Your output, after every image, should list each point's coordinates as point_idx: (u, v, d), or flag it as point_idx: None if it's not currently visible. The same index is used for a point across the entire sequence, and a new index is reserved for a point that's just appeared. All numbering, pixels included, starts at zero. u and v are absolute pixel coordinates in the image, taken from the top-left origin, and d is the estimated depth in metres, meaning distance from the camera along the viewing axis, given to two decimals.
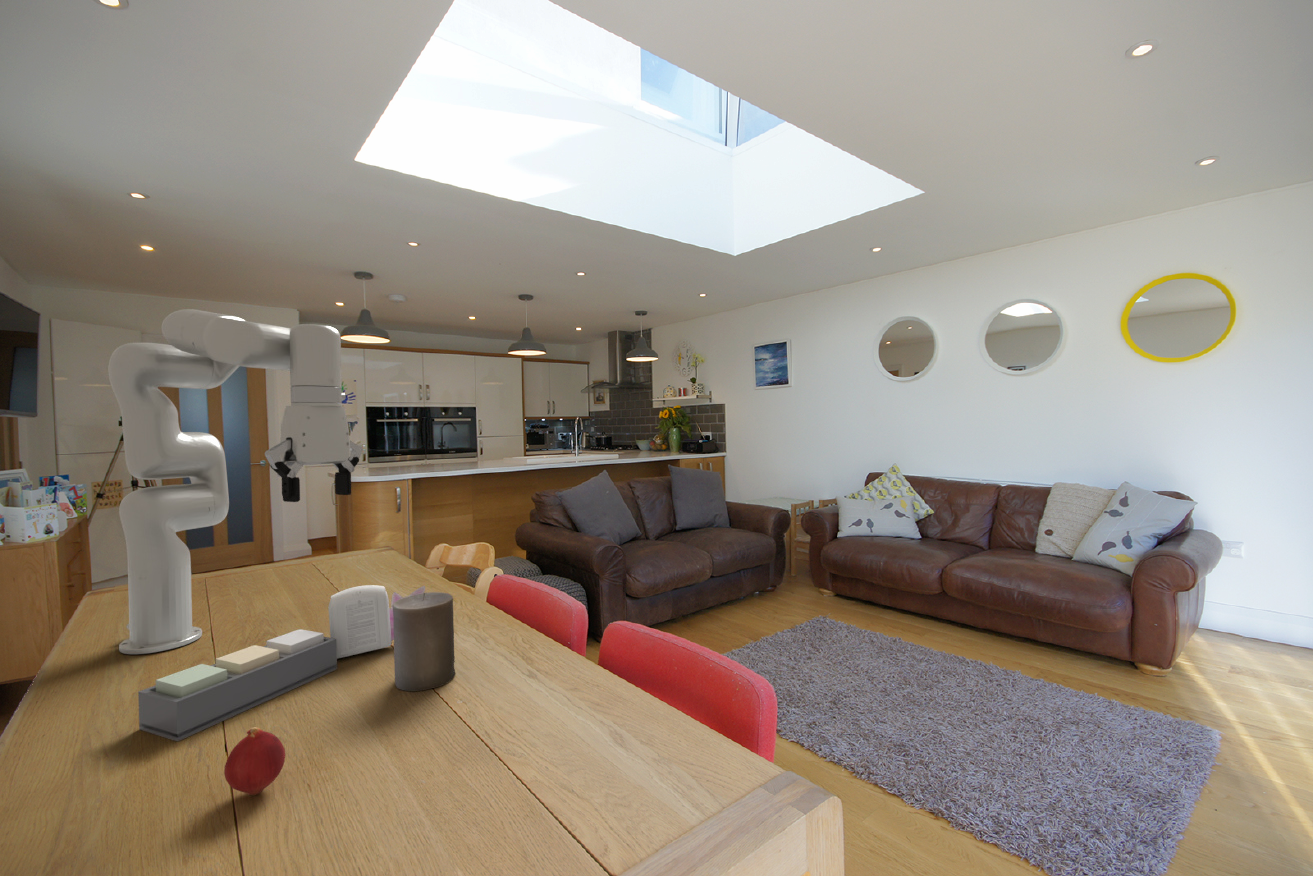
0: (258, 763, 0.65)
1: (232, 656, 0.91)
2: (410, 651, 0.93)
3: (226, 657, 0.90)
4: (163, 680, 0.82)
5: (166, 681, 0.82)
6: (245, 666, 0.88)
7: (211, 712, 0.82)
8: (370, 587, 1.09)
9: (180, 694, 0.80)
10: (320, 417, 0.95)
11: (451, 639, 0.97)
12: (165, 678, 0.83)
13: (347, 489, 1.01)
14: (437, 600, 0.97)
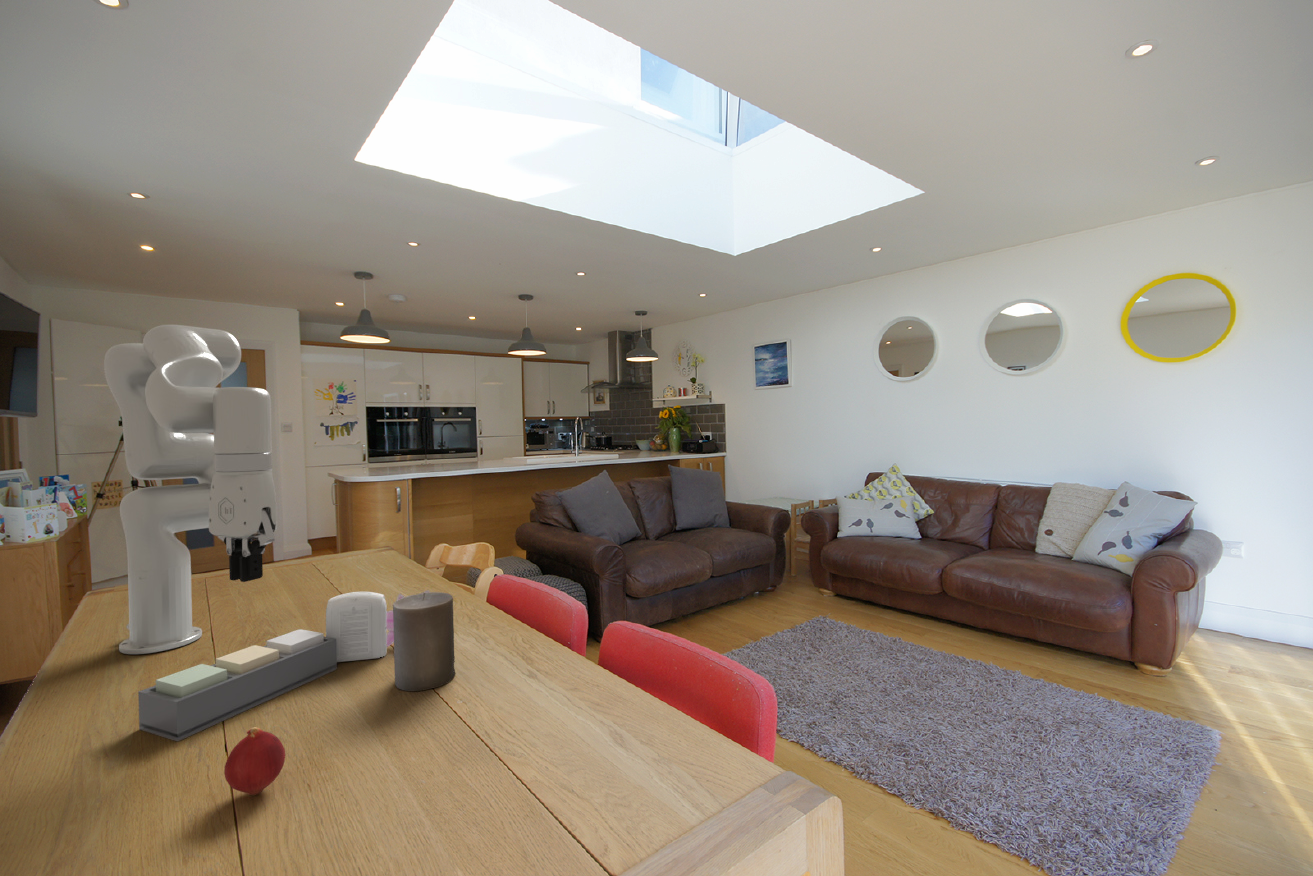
0: (258, 763, 0.65)
1: (232, 656, 0.91)
2: (410, 651, 0.93)
3: (226, 657, 0.90)
4: (163, 680, 0.82)
5: (166, 681, 0.82)
6: (245, 666, 0.88)
7: (211, 712, 0.82)
8: (367, 595, 1.06)
9: (180, 694, 0.80)
10: None
11: (451, 639, 0.97)
12: (165, 678, 0.83)
13: None
14: (437, 600, 0.97)
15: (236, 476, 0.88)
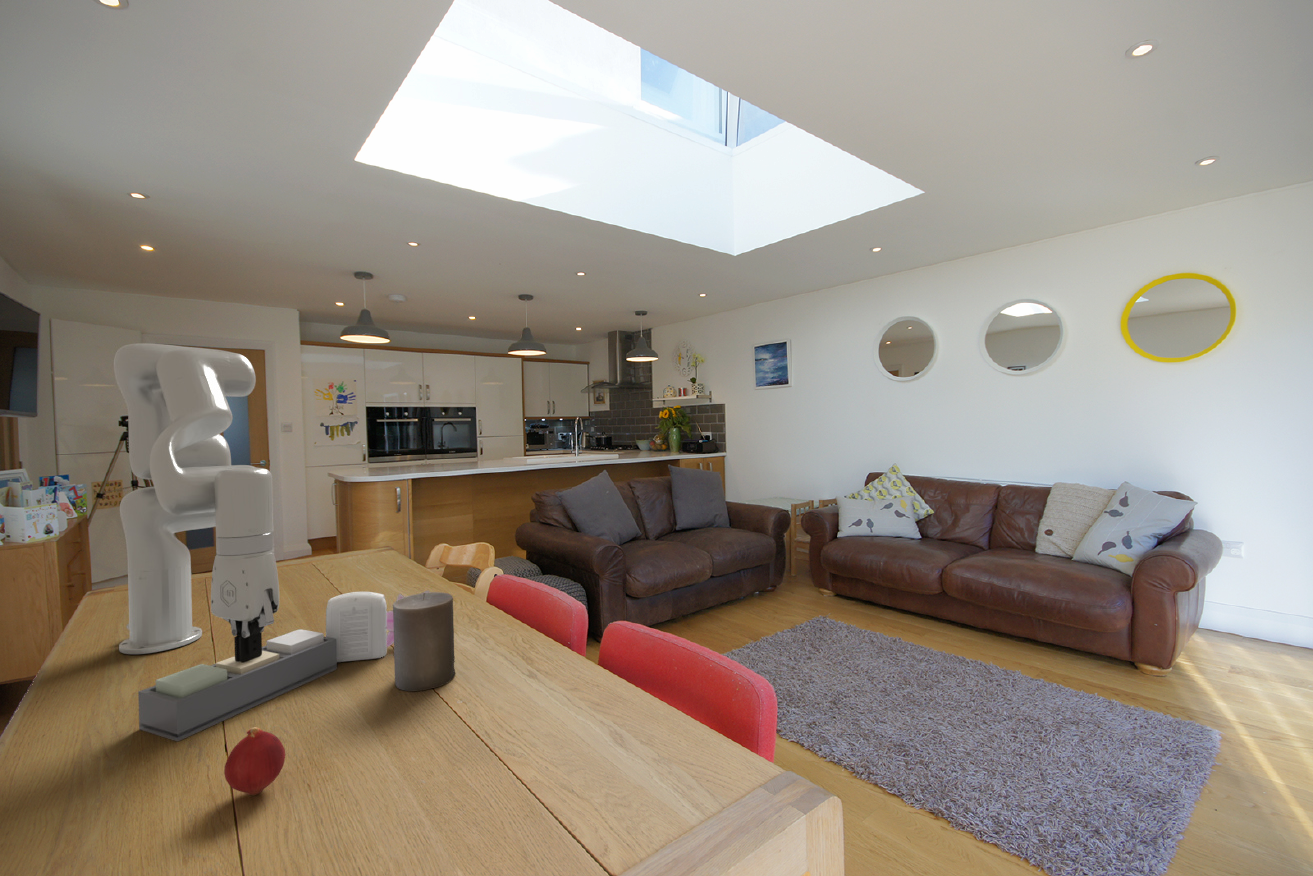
0: (258, 763, 0.65)
1: (232, 660, 0.91)
2: (410, 651, 0.93)
3: (226, 661, 0.90)
4: (163, 680, 0.82)
5: (166, 681, 0.82)
6: (245, 671, 0.88)
7: (211, 712, 0.82)
8: (367, 595, 1.06)
9: (180, 694, 0.80)
10: None
11: (451, 639, 0.97)
12: (165, 678, 0.83)
13: None
14: (437, 600, 0.97)
15: (238, 559, 0.88)
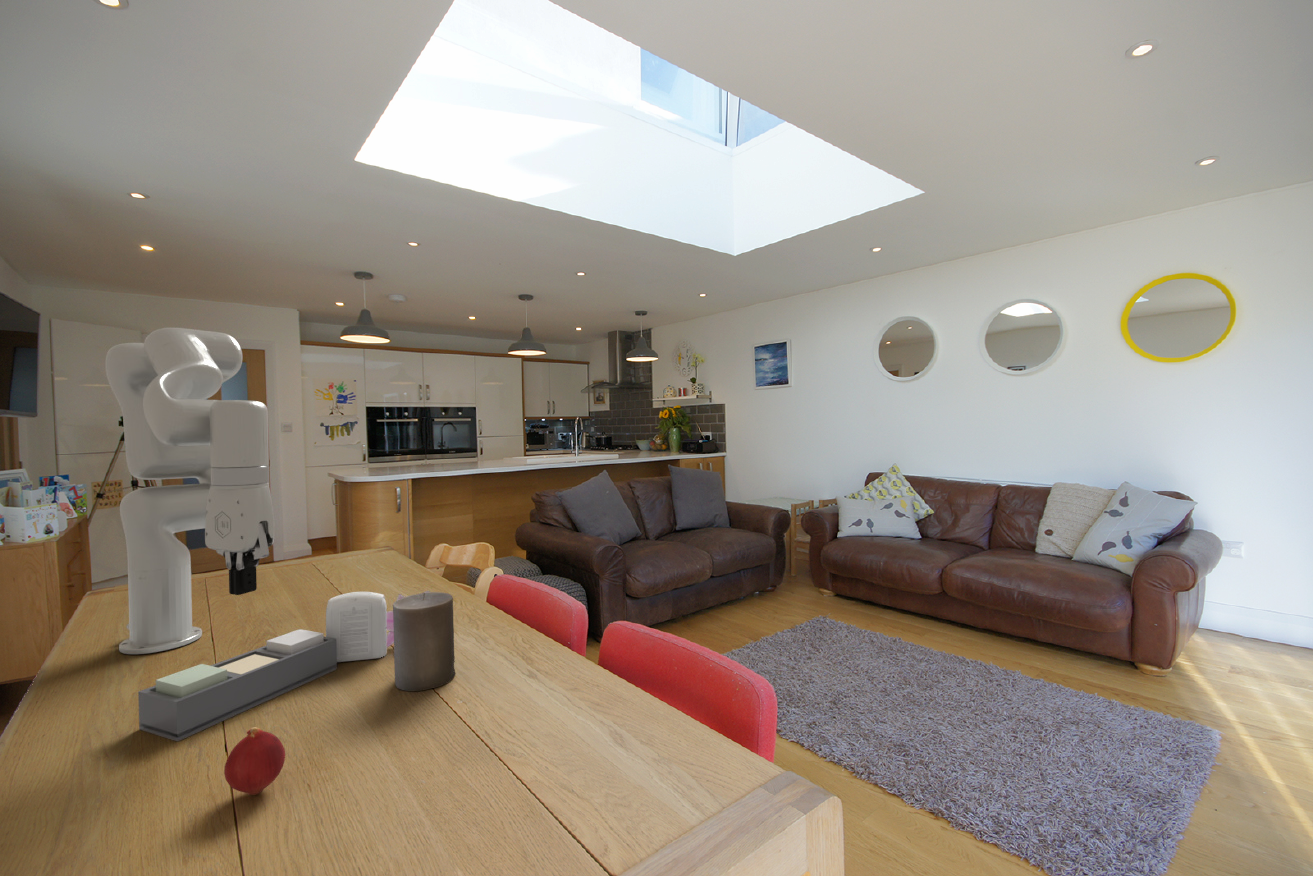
0: (258, 763, 0.65)
1: (232, 665, 0.91)
2: (410, 651, 0.93)
3: (226, 666, 0.90)
4: (163, 680, 0.82)
5: (166, 681, 0.82)
6: None
7: (211, 712, 0.82)
8: (367, 595, 1.06)
9: (180, 694, 0.80)
10: None
11: (451, 639, 0.97)
12: (165, 678, 0.83)
13: None
14: (437, 600, 0.97)
15: (233, 490, 0.87)
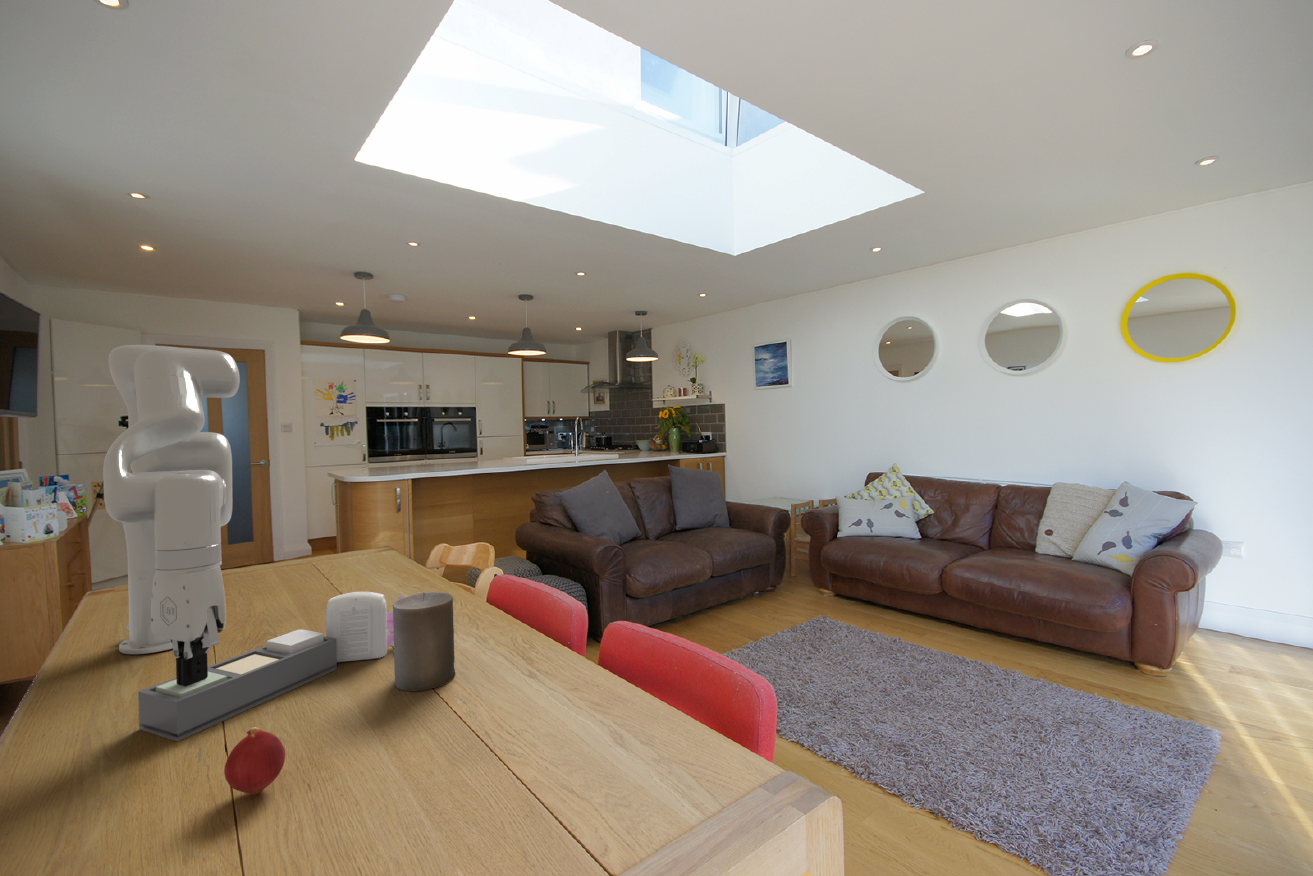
0: (258, 763, 0.65)
1: (232, 665, 0.91)
2: (410, 651, 0.93)
3: (226, 666, 0.90)
4: (163, 686, 0.82)
5: (166, 688, 0.82)
6: None
7: (211, 712, 0.82)
8: (367, 595, 1.06)
9: None
10: None
11: (451, 639, 0.97)
12: (165, 685, 0.83)
13: None
14: (437, 600, 0.97)
15: (179, 574, 0.80)
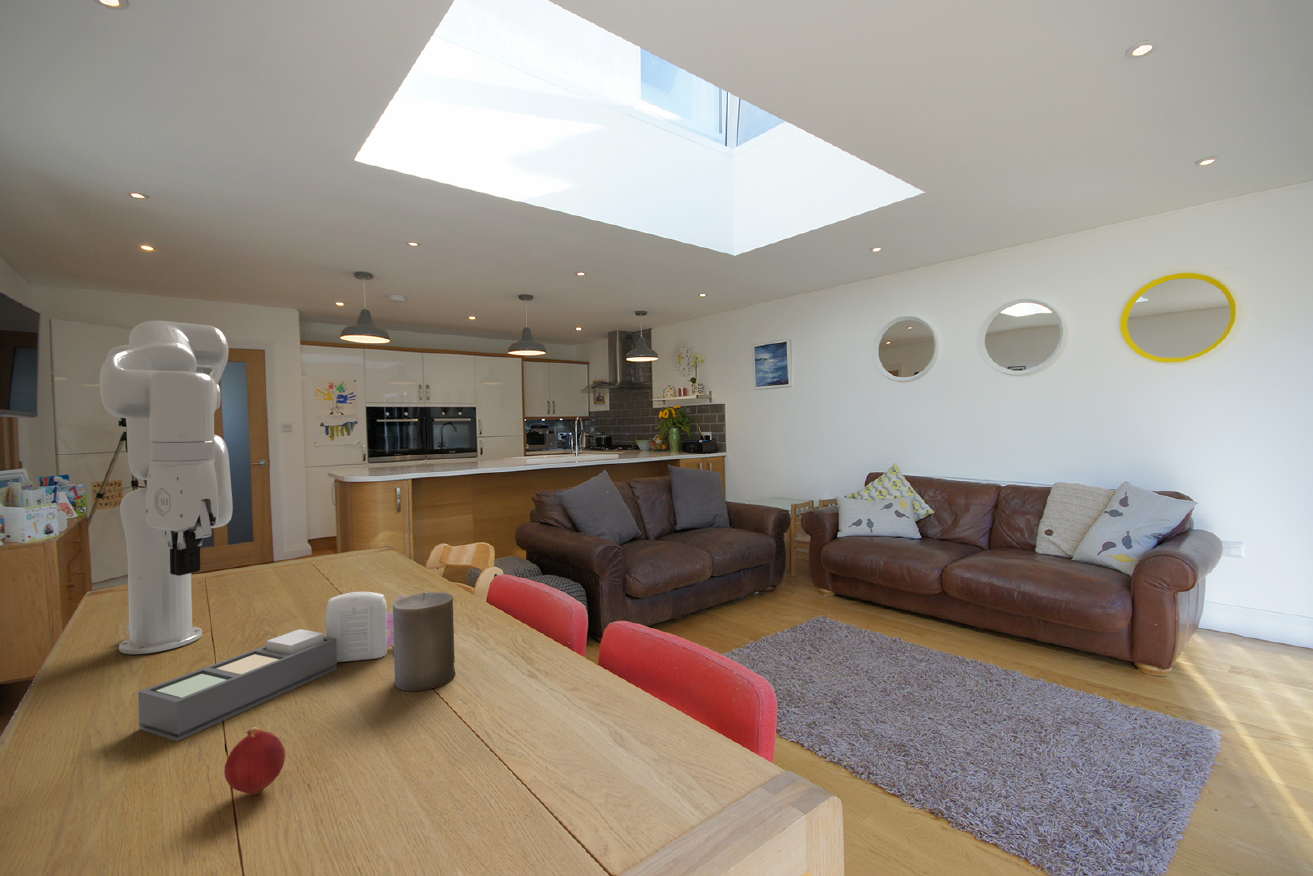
0: (258, 763, 0.65)
1: (232, 665, 0.91)
2: (410, 651, 0.93)
3: (226, 666, 0.90)
4: (163, 690, 0.82)
5: (166, 692, 0.82)
6: None
7: (211, 712, 0.82)
8: (367, 595, 1.06)
9: None
10: None
11: (451, 639, 0.97)
12: (166, 689, 0.83)
13: None
14: (437, 600, 0.97)
15: (173, 466, 0.83)
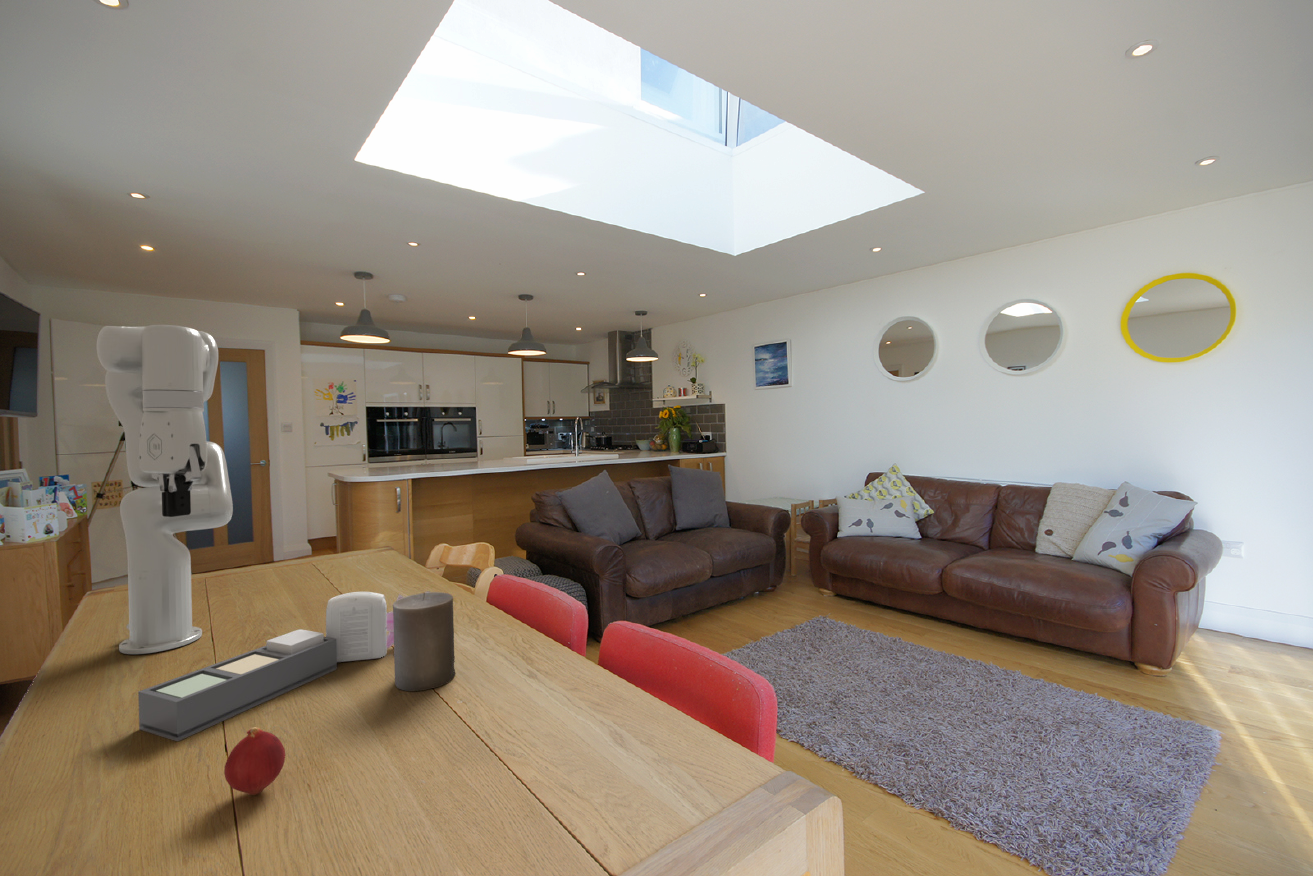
0: (258, 763, 0.65)
1: (232, 665, 0.91)
2: (410, 651, 0.93)
3: (226, 666, 0.90)
4: (163, 690, 0.82)
5: (166, 692, 0.82)
6: None
7: (211, 712, 0.82)
8: (367, 595, 1.06)
9: None
10: None
11: (451, 639, 0.97)
12: (166, 689, 0.83)
13: None
14: (437, 600, 0.97)
15: (164, 412, 0.89)
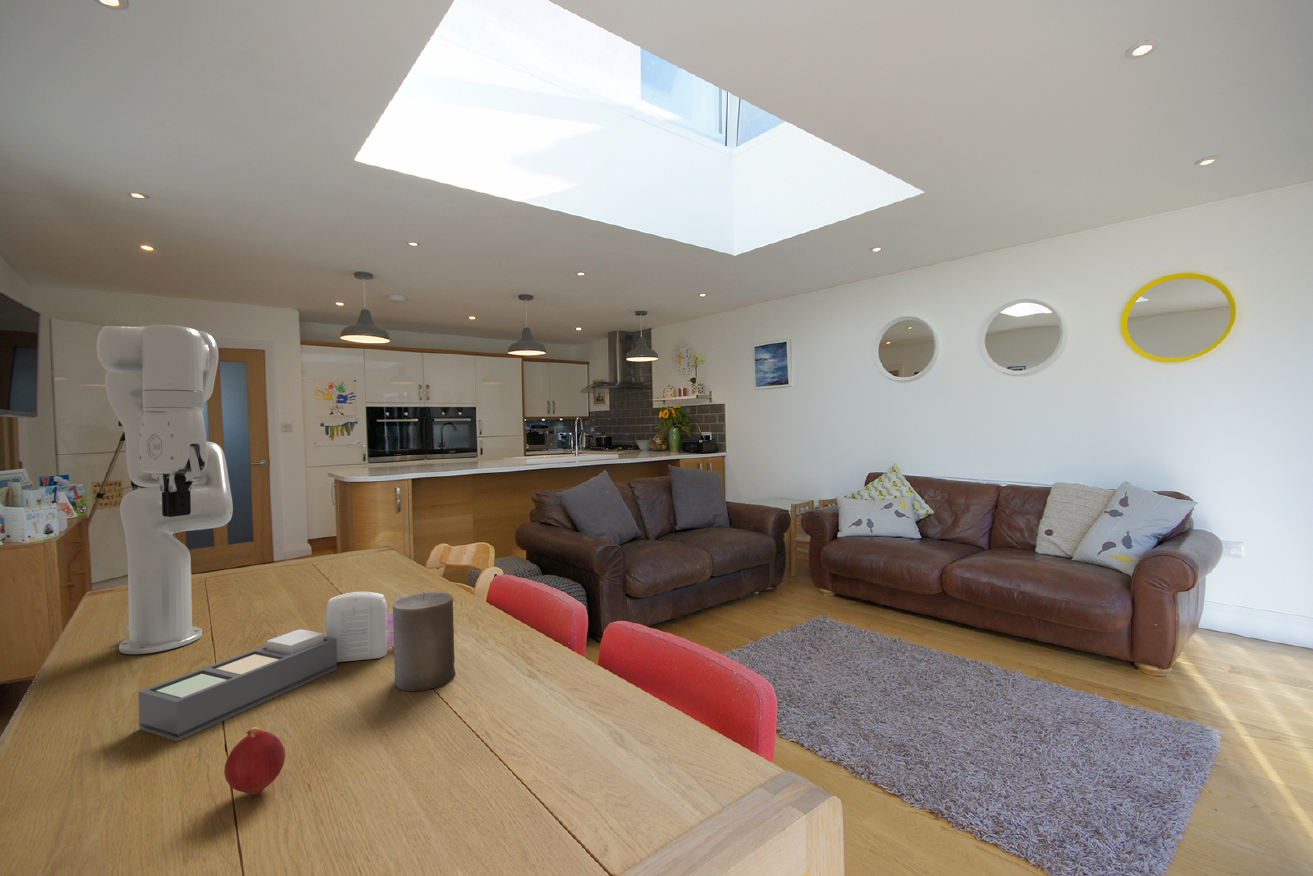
0: (258, 763, 0.65)
1: (232, 665, 0.91)
2: (410, 651, 0.93)
3: (226, 666, 0.90)
4: (163, 690, 0.82)
5: (166, 692, 0.82)
6: None
7: (211, 712, 0.82)
8: (367, 595, 1.06)
9: None
10: None
11: (451, 639, 0.97)
12: (166, 689, 0.83)
13: None
14: (437, 600, 0.97)
15: (164, 412, 0.89)
